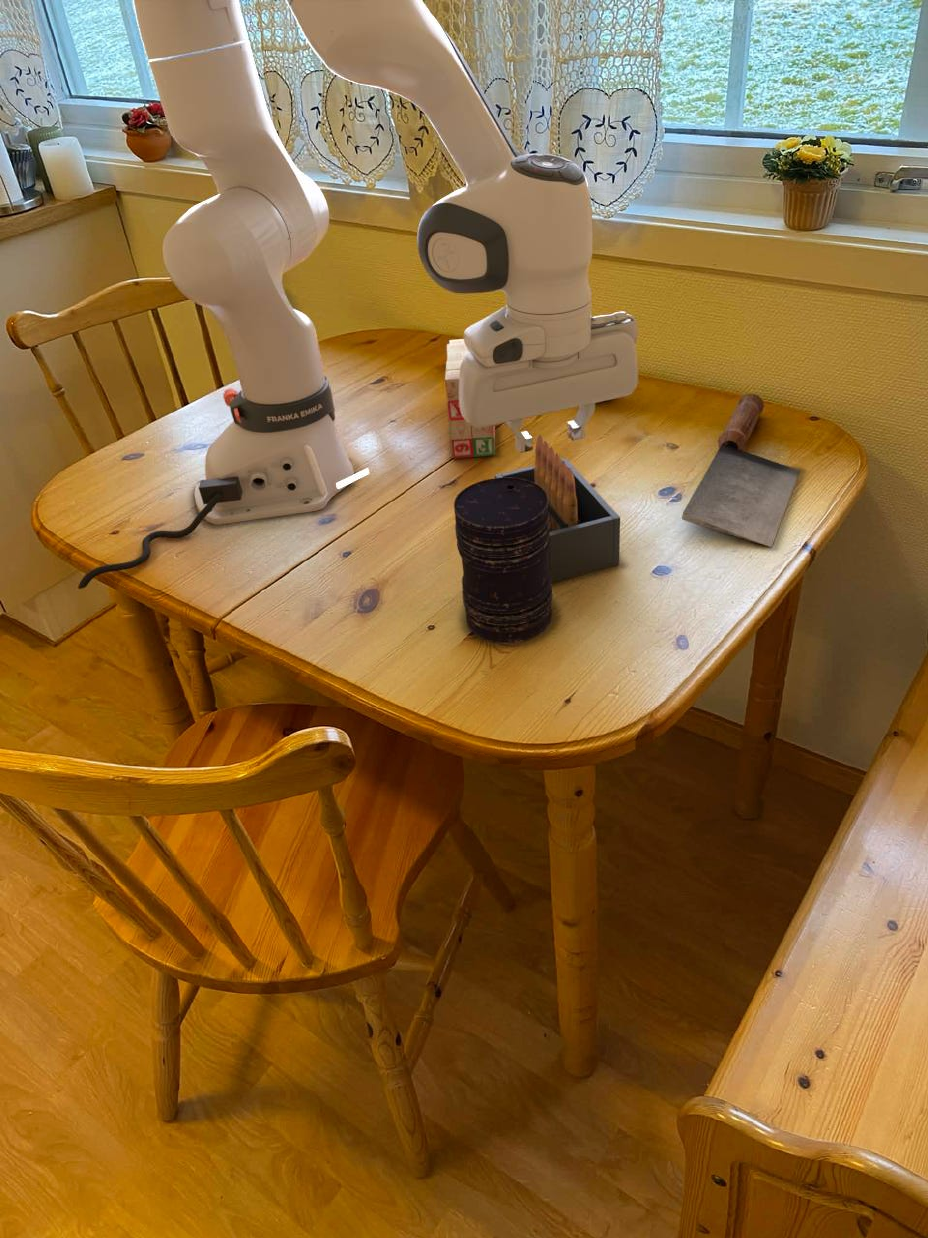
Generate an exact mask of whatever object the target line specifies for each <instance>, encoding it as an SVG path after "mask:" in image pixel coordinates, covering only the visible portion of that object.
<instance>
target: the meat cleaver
mask: <svg viewBox="0 0 928 1238" xmlns="http://www.w3.org/2000/svg"><path fill="white" fill-rule="evenodd" d="M764 408H765V404H764V401H763V399H762V398H761V397H760V396H759V395H757V394H755V393H747V394H744V395H742V396H741V397H740V398H739V399H738V403H737V406H736V407H735V409H734V411H733V412H732V415H731V417H730V418H729V420H728V422H727V424H726V426H725V428H724V431H723V432H722V433H721V434H720V435H719V437H718V439H717V444H718V446H717V447H718V450H717V452H716V454H715V455H714V457H713V459H712V461H711V462H710V464H709V466H708V468H707V470H706V471H705V473H704V474H703V477H701V480H700V482H699V484H698V486H697V487H696V489H695V491H694V492H693V494H692V495H691V498H690V500H689V501H688V503H687V505H686V507H685V508H684V510H683V512H682V515H681V519H682V520H683V521H684V522H689V523H692V524H695V525H698V526H702V527H705V528H708V529H711V530H715V531H718V532H721V533H725V534H727V535H730V536H733V537H738V538H740V539H743V540H747V541H750V542H752V543H756V544H760V545H763V546H766V547H769V548H772V547H773V544H774V542H775V539H776V537H777V534H778V531H779V528H780V526H781V523H782V520H783V518H784V515H785V512H786V509H787V507H788V505H789V501H790V499H791V496H792V494H793V491H794V488H795V485H796V483H797V480H798V477H799V475H800V472H801V470H800V469H796V468H794V467H790V466H787V465H785V464H782V463H779V462H776V461H773V460H770V459H768V458H765V457H762V456H759V455H758V454H753V453H750V452H749V451H746V450H745V449H746V447H747V441H748V440H749V439H750V437H751V434H752V432H753V431H754V429H755V426H756V424H757V422H758V420H759V417H760V415H761V414H762V413H763V411H764Z"/></svg>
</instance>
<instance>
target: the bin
mask: <svg viewBox="0 0 928 1238" xmlns="http://www.w3.org/2000/svg"><path fill="white" fill-rule="evenodd" d="M560 460H561V462H562V461H564V462H565V463H566V466H567V470H568V468H571V470H572V472H573V475H574V480H575V491H576V498H577V515H578V519H579V521H580V524H578V525H575V526H571V527H567V528H563V529H559V530H556V531H552V532H550V538H551V540H550V545H549V549H548V568H549V570H550V573H551V584H553V583H558V582H561V581H565V580H568V579H572V578H575V577H579V576H583V575H586V574H591V573H593V572H597V571H601V570H605V569H609V568H611V567H612V568H613V567H616V566H618V565H620V550H621V549H620V547H621V546H620V545H621V544H620V543H621V516H619V514H618V513H617V512H616V511H615V510H614V509H613V508H612V507H611V505H609V504H608V502H607V501H606V500H605V499H604V498H603V497H602V496H601V495H600V494H599V493H598V491H597V490H596V489H595V488H594V487H593V486H592V485H591V484H590V483H589V481H588V480H586V478H585V477H584V476H583V475H582V474H581V473H580V471H578V470H577V469H576V468H575V466H574V465H573V464H572V463H571V462H570V461H569V460H568V459H567V457H564V458H560ZM502 477H511V478H519V479H525V480H528V481H531V482H533V483H535V475H534V465H531V466H527V467H523V468H519V469H515V470H511V471H506V472H503V473H499V474H498V473H497V474H495V475H494V478H502Z"/></svg>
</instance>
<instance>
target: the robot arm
mask: <svg viewBox="0 0 928 1238" xmlns="http://www.w3.org/2000/svg"><path fill="white" fill-rule="evenodd" d="M285 2H286V4H287V6H288V8H289V9H290V12H291V14H292V16H293V18H294V19H295V21H296V23H297V25H298V27H299V29H300V31H301V33H302V35H303V36H304V38H305V41H306V42H307V43H308V45H309V46H310V48H311V49H312V51H313V52H314V53H315V55H316V56H317V57H318V58H319V59H320V61H321V62H322V63H323V64H324V65H325V67H326V68H327V69H328V70H329V71H330V72H332V73H333V74H334V75H336V76H338V77H339V78H342V79H344V80H346V81H348V82H351V83H354V84H357V85H361V86H366V87H372V88H376V89H380V90H384V91H387V92H391V93H392V94H395V95H398V96H400V97H402V98H403V99H406V100H408V101H409V102H411V104H413V105H415V106H416V107H417V108H418V109H419V110H420V111H421V112H422V113H423V114H424V115H425V116H426V118H427V119H428V121H429V122H430V124H431V125H432V127H433V129H434V130H435V132H436V133H437V135H438V137H439V138H440V140H441V141H442V143H443V145H444V146H445V148H446V149H447V151H448V153H449V155H450V156H451V158H452V160H453V162H455V164H456V166H457V168H458V169H459V171H460V172H461V174H462V176H463V178H464V181H465V185H466V186H464V187H461V188H458V189H456V190H454V191H453V192H450V193H449V194H448V195H446V196H444V197H442V198H441V199H439V200H437V201H436V202H435V203H434V204H433V205H432V206H430V207H429V208H428V209H426V211H425V212H424V213H423V215H422V217H421V218H420V221H419V224H418V227H417V235H416V242H417V245H416V246H417V251H418V255H419V259H420V261H421V263H422V266H423V269H424V270H425V272H426V273H427V274H428V276H429V277H430V279H431V280H433V282H434V283H436V284H437V285H438V286H439V287H441V288H442V289H444V290H445V291H448V292H449V293H450V292H451V293H454V294H483V293H491V292H495V291H501V292H503V294H504V296H505V306H502V307H501V308H500V309H498V310H497V311H494V312H493V313H491V314H490V315H488V316H487V317H484V318H482V319H481V320H478V321H476V322H475V323H473V324H471V325H470V326H468V327H467V328H466V329H465V330H464V332H463V339H464V342H465V345H466V347H467V349H468V350H469V352H468V353H467V354H466V355H465V357H464V359H463V360H462V363H461V367H460V376H459V406H460V412H461V414H462V416H463V418H464V419H465V420H466V421H467V422H468V423H469V424H470V425H471V426H472V427H474V428H475V429H479V428H484V427H488V426H493V425H495V426H497V425H501V424H506V425H507V427H508V428H509V429H510V430H511V432H512V434H513V435H514V441H515V442H514V443H515V444H514V445H515V449H516V450H517V452H519V453H520V454H522V453H527V452H531V451H533V449H534V447H533V442H534V439H533V436H532V435H531V434H530V433H529V432H528V431H527V430H525V431H521V429H519V428H522V427H523V426H524V419H528V418H529V419H530V418H532V417H533V418H534V417H538V416H541V415H546V414H551V413H556V412H560V411H565V410H568V409H573V408H574V409H575V408H578V411H577V412H576V414H575V416H574V418H573V420H569V421H567V424H566V428H567V431H566V434H567V437H568V438H569V439H570V440H571V442H575V441H578V440H582V439H585V438H586V426H587V425H588V423H589V421H590V419H591V418H592V416H593V415H594V413H595V411H596V403H601V402H604V401H610V400H615V399H619V398H623V397H624V398H625V397H628V396H631V395H632V394H633V393H634V391H635V390H636V388H637V387H638V384H639V367H638V366H639V365H638V356H637V355H638V354H637V348H636V344H637V342H638V336H639V324H638V320H637V319H636V318H635V317H634V316H633V315H631V314H628V313H627V312H626V311H616V312H613V313H612V314H611V313H610V314H601V315H597V316H592V295H593V294H592V289H591V285H590V281H589V268H590V264H591V261H592V258H593V211H592V210H593V209H592V200H591V199H592V198H591V191H590V186H589V183H588V179H587V177H586V175H585V173H584V171H583V169H582V168H581V167H580V166H579V165H578V164H576V163H575V162H573V161H572V160H570V159H568V158H565V157H563V156H559V155H554V154H549V153H527V154H522V152H521V151H519V149H518V147H517V146H516V144H515V143H514V142H513V140H512V139H511V137H510V135H509V134H508V132H507V130H506V129H505V127H504V125H503V123H502V122H501V120H500V118H499V116H498V115H497V113H496V111H495V109H494V108H493V106H492V104H491V103H490V101H489V99H488V97H487V95H486V94H485V92H484V90H483V89H482V86H481V85H480V83H479V81H478V80H477V78H476V77H475V74H474V73H473V71H472V69H471V68H470V67H469V64H468V62H467V61H466V60H465V58H464V56H463V54H462V53H461V51H460V50H459V48H458V46H457V45H456V44H455V42H454V41H453V39H452V38H451V37H450V35H449V34H448V33H447V31H446V30H445V29H444V27H443V26H442V25H441V23H440V22H439V21H438V20H437V19H436V18H435V17H434V16H433V14H432V13H431V12H430V10H429V8H428V7H427V6H426V4H425V3H424V1H423V0H285ZM132 3H133V8H134V12H135V13H134V14H135V17H136V22H137V26H138V30H139V34H140V38H141V43H142V45H143V48H144V53H145V56H146V59H147V60H148V61H147V63H148V64H149V69H150V72H151V75H152V79H153V81H154V85H155V87H156V91H157V95H158V99H159V101H160V104H161V107H162V111H163V114H164V116H165V120H166V123H167V126H168V130H169V133H170V135H171V136H172V138H173V140H174V141H175V142H176V143H177V145H179V146H180V147H181V148H183V149H184V150H186V151H188V152H190V153H192V154H194V155H196V157H198V158H199V159H200V161H201V162H202V163H203V165H204V166H205V167H206V169H207V171H208V173H209V174H210V176H211V178H212V180H213V182H214V185H215V186H216V189H217V194H216V195H214V196H212V197H210V198H208V199H206V200H204V201H202V202H200V203H197V204H195V205H193V206H192V207H191V208H189V209H188V210H187V211H186V212H185V213H184V214H182V216H181V217H179V219H178V220H176V222H175V223H174V224H173V225H172V226H171V227H170V228H169V229H168V231H167V232H166V233H165V236H164V239H163V242H162V258H163V263H164V266H165V270H166V272H167V275H168V277H169V278H170V280H171V282H172V284H173V285H174V287H176V289H177V290H178V291H179V293H181V294H182V295H183V296H184V297H186V298H187V299H188V300H189V301H191V302H193V303H194V304H197V305H199V306H201V307H203V308H205V309H206V310H207V311H208V312H209V313H210V314H211V315H212V316H213V318H214V319H215V320H216V322H217V323H218V325H219V327H220V329H221V330H222V332H223V334H224V336H225V338H226V341H227V344H228V346H229V349H230V352H231V356H232V359H233V363H234V366H235V370H236V373H237V378H238V381H239V384H240V389H241V390H240V391H237V390H236V389H235V388H231V387H230V388H227V389H225V390H224V393H223V394H222V395H223V400H224V404H225V405H226V406H227V407H229V408H230V413H231V417H232V419H233V421H232V422H230V424H229V425H228V426H227V427H226V428H225V429H224V431H223V432H222V433H221V434H220V435H219V436H217V437H216V438H215V440H214V441H212V442H211V443H210V444H209V446H208V448H207V451H206V454H205V461H204V474H202V475H201V476H200V477H199V479H198V480H197V482H196V483H195V486H194V493H193V494H194V501H195V505H196V509H197V511H198V514H197V515H196V516H195V517H194V519H193V520H192V522H191V523H190V524H189V525H188V526H187V527H185V528H183V529H180V530H155V531H152V532H150V533H149V534H147V535H146V536H145V537H144V538H143V539H142V542H141V548H142V553H141V555H140V556H138V557H137V558H135V559H132V560H129V561H125V562H118V563H111V564H105V565H101V566H97V567H95V568H93V569H91V570H89V571H88V572H87V573H86V574H85V575H84V576H83V577H82V578H81V580H80V582H79V584H78V586H77V587H78V588H77V589H78V590H81V589H82V590H83V589H85V588H86V587H88V585H89V583H91V581H92V580H93V579H94V578H96V577H97V576H99V575H103V574H106V573H112V572H119V571H126V570H130V569H134V568H137V567H139V566H141V565H142V564H144V563H145V562H147V560H148V559H149V558H150V556H151V549H150V543H151V542H153V541H154V540H156V539H160V538H166V539H167V538H168V539H179V538H184V537H187V536H189V535H190V534H192V533H193V532H194V531H195V530H196V529H198V527H199V526H200V525H201V523H202V521H204V520H205V521H206V522H208V523H210V524H212V525H216V526H217V525H225V524H232V523H239V522H247V521H254V520H260V519H268V518H275V517H282V516H289V515H295V514H304V513H311V512H316V511H320V510H322V509H324V508H325V507H326V506H327V505H328V504H329V502H330V501H331V499H332V498H333V497H334V496H335V495H337V494H338V493H341V491H343V490H344V489H346V488H347V486H348V485H350V484H351V483H354V482H355V481H357V480H359V479H362V478H363V477H365V476H367V475H370V470H369V468H365V469H363V470H360V471H358V472H356V473H355V468H354V465H353V463H352V462H351V461H350V458H349V457H348V454H347V452H346V449H345V448H344V445H343V443H342V439H341V436H340V434H339V431H338V428H337V425H336V413H335V412H336V409H335V408H336V407H335V402H334V396H333V392H332V386H331V384H330V381H329V380H328V378H327V376H326V375H325V373H324V372H325V371H324V365H323V362H322V361H323V360H322V357H321V351H320V345H319V339H318V335H317V330H316V327H315V325H314V322H313V320H311V318H310V317H308V316H307V315H306V314H305V313H303V312H301V311H299V310H297V309H295V308H293V305H292V304H291V303H290V301H289V299H288V297H287V294H286V291H285V289H284V285H283V275H284V274H285V273H287V272H288V271H290V270H291V269H293V268H294V267H296V266H298V265H299V264H300V263H303V262H304V261H306V260H307V259H308V258H309V257H310V256H311V255H312V254H313V252H314V251H315V250H316V249H317V247H318V246H319V245H320V243H321V242H322V241H323V239H324V238H325V236H326V235H327V232H328V229H329V226H330V210H329V206H328V203H327V200H326V198H325V195H324V194H323V192H322V189H320V187H319V186H318V184H317V183H316V182H315V181H314V180H313V179H312V178H310V176H308V175H306V174H304V173H303V172H302V171H301V170H300V169H299V168H298V167H297V166H296V165H295V163H294V161H293V160H292V159H291V156H290V155H289V153H288V152H287V150H286V148H285V146H284V145H283V142H282V141H281V139H280V137H279V135H278V133H277V130H276V128H275V126H274V124H273V121H272V119H271V116H270V112H269V110H268V107H267V104H266V99H265V96H264V92H263V88H262V85H261V81H260V78H259V73H258V70H257V67H256V62H255V59H254V55H253V51H252V48H251V44H250V40H249V35H248V32H247V29H246V25H245V20H244V17H243V13H242V10H241V6H240V2H239V0H132Z"/></svg>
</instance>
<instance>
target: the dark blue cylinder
mask: <svg viewBox="0 0 928 1238" xmlns="http://www.w3.org/2000/svg"><path fill="white" fill-rule="evenodd" d="M453 510H454V521H455V525H454V526H455V527H454V528H455V529H454V530H455V538H456V547H457V550H458V554H459V556H460V558H461V565H462V573H463V574H462V577H461V587H462V602H463V603H462V604H463V607H464V610H465V621H466V626H467V627H468V629H469V630H470V631H471V633H472V634H474V635H475V636H476V637H477V638H479V639H482V640H484V641H486V642H490V643H494V644H502V645H503V644H504V645H510V644H518V643H524V642H527V641H530V640H532V639H534V638H536V637H538V636H540V635H541V634H542V633H544V632H545V631H546V630H547V629H548V628H549V626H550V624H551V622H552V620H553V608H552V604H553V602H552V601H553V586H552V584H553V583H551V573H550V570H549V568H548V549H549V545H550V540H551V538H550V519H549V511H548V496H547V493H546V492H545V490H544V489H543V488H542V487H540V486H539V485H537V484H536V483H533V482H531V481H528V480H525V479H519V478H511V477H502V478H495V477H492V478H487V479H483V480H480V481H477V482H475V483H472V484H470V485H468V486H467V487H466V486H465V488H464V489H462V490H461V491H460V492H459V493H458V494H457V495H456V497H455V499H454V502H453Z"/></svg>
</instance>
